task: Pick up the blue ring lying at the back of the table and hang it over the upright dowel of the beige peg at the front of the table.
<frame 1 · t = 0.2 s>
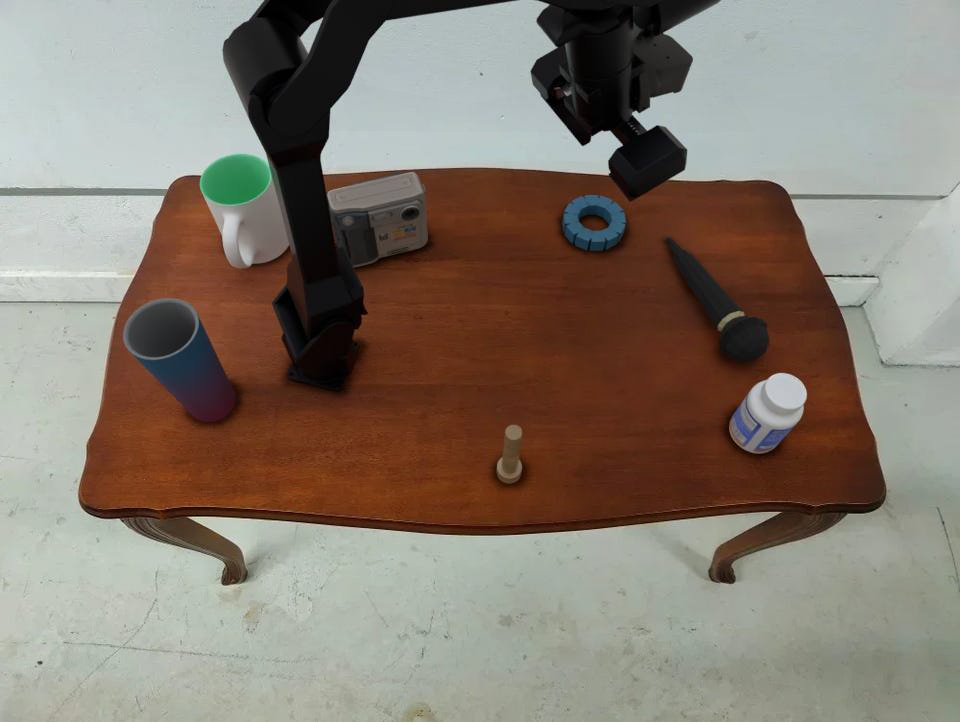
hand: (608, 170, 75), 15 cm above the table, tool pointing down, fingers open, 9 cm apart
cup: (213, 402, 78), on the table
microphone: (711, 304, 85), on the table
pill bottle: (752, 432, 77), on the table
beige peg: (508, 471, 74), on the table
mug: (257, 251, 89), on the table
camera: (384, 246, 89), on the table
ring: (592, 227, 91), on the table
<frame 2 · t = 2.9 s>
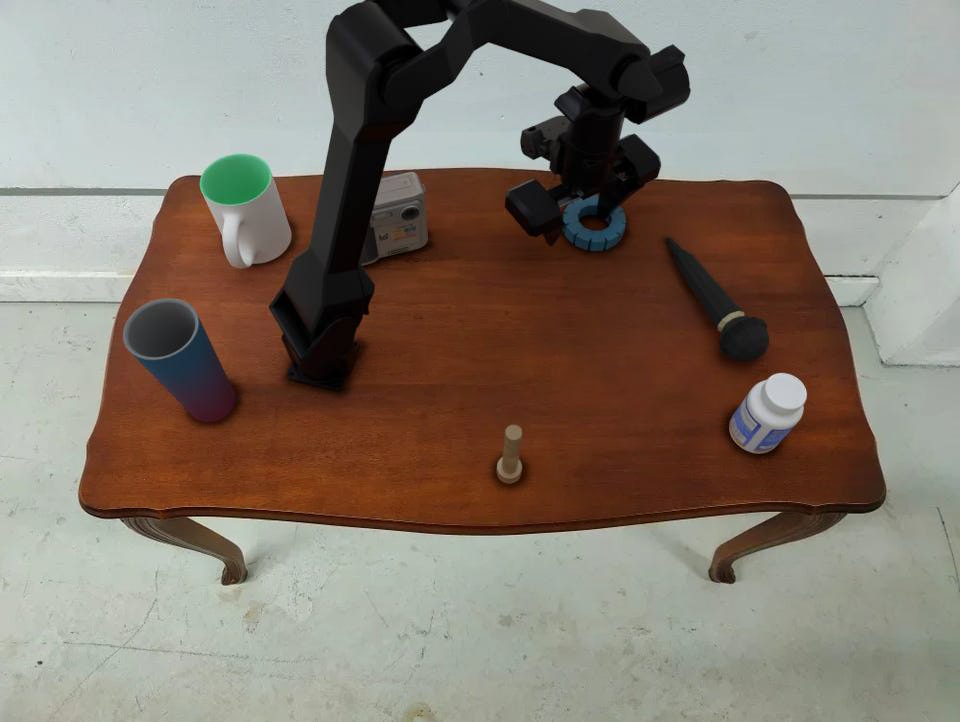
hand: (574, 231, 89), 1 cm above the table, tool pointing down, fingers open, 8 cm apart
nothing on the table moved.
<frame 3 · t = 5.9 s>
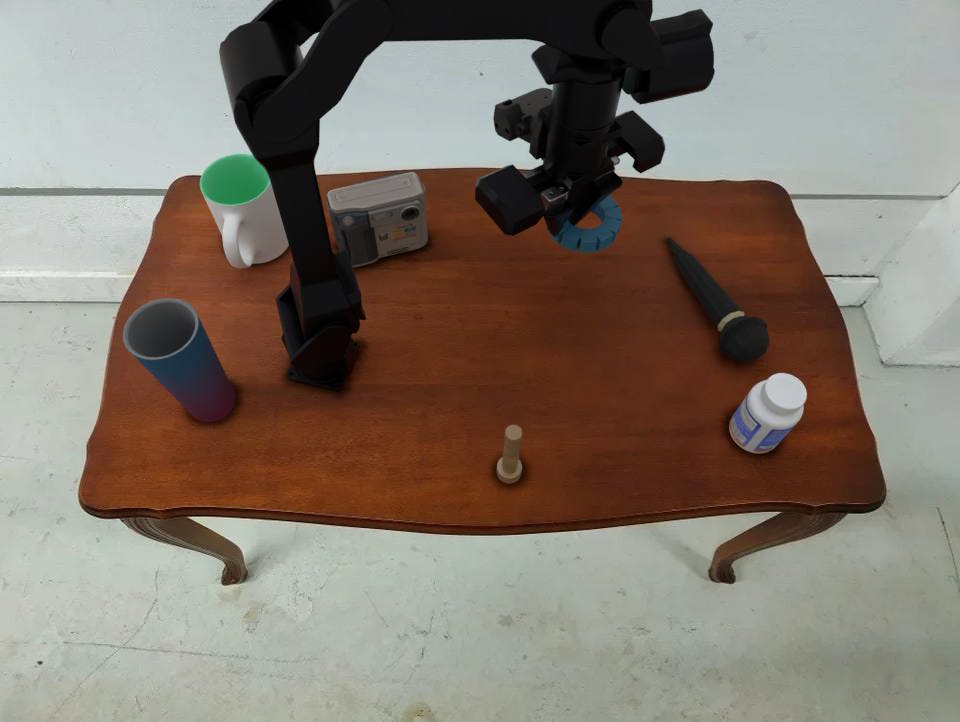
hand: (561, 229, 74), 13 cm above the table, tool pointing down, fingers closed on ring
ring: (582, 224, 76), point 12 cm above the table, touching gripper
everything else where it was.
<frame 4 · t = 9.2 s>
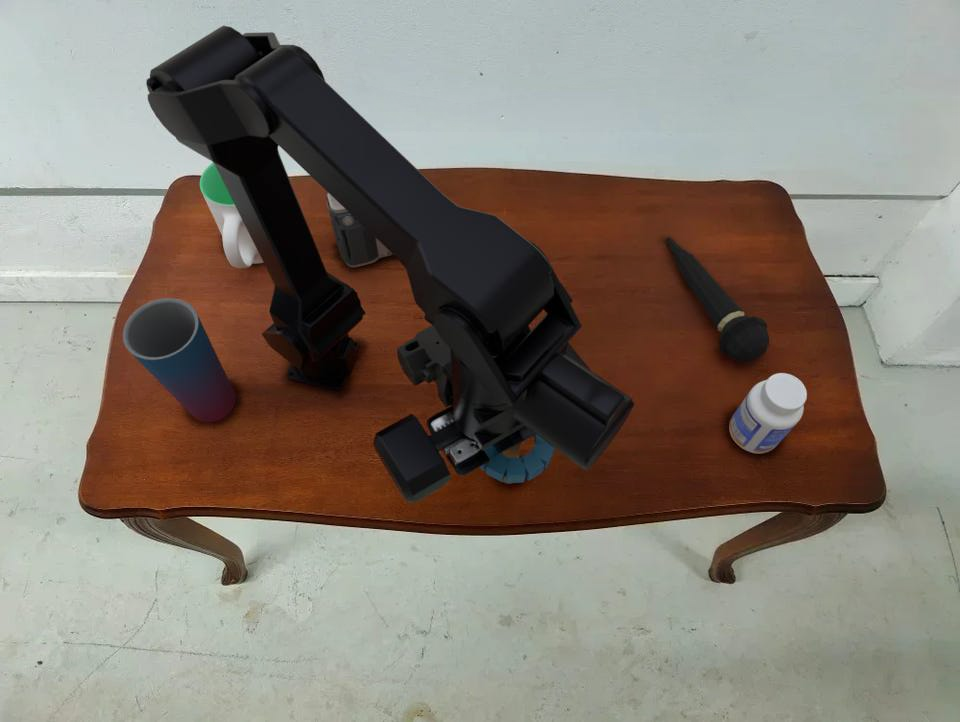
hand: (486, 454, 66), 8 cm above the table, tool pointing down, fingers closed on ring
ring: (512, 444, 68), point 7 cm above the table, touching gripper
everything else where it was.
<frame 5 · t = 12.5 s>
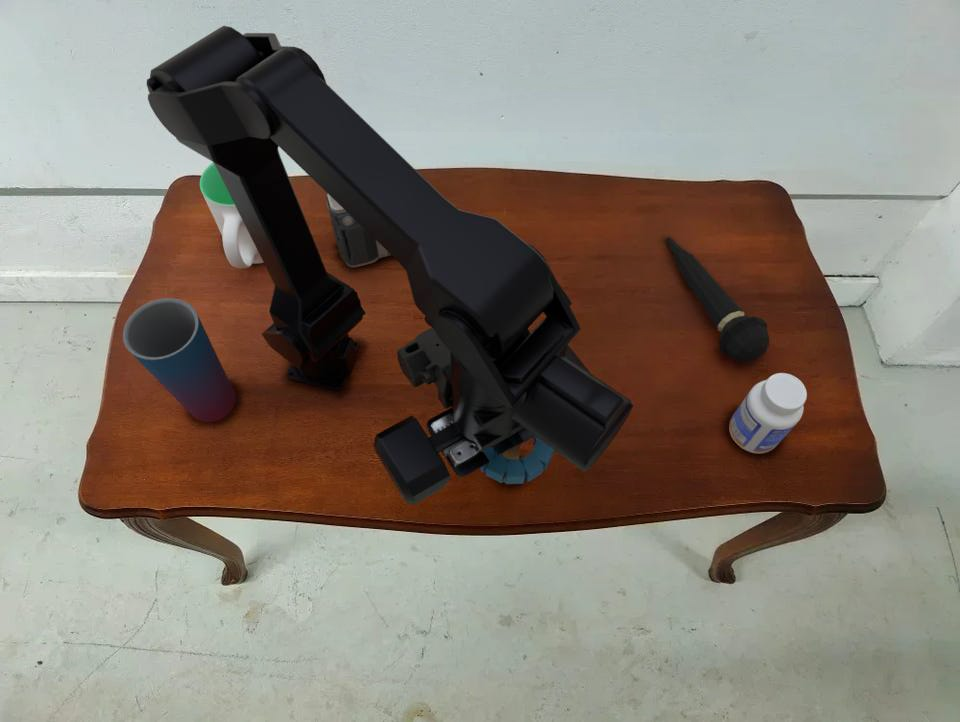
hand: (485, 455, 66), 8 cm above the table, tool pointing down, fingers closed on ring
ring: (512, 445, 68), point 7 cm above the table, touching gripper
everything else where it was.
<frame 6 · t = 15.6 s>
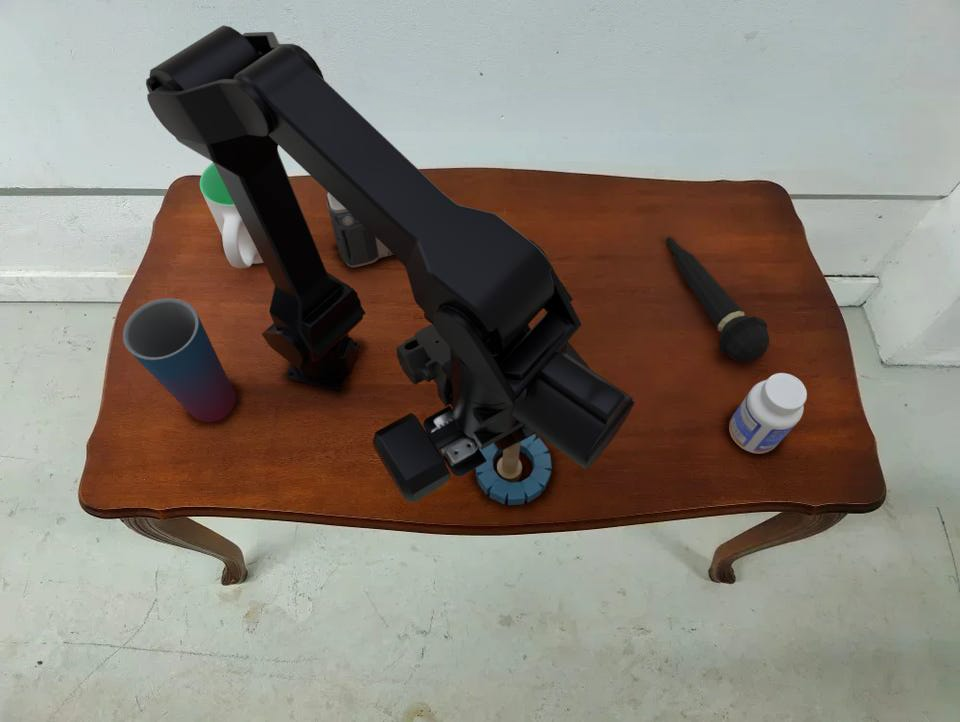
hand: (485, 453, 66), 9 cm above the table, tool pointing down, fingers closed
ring: (512, 469, 74), on the table
everything else where it was.
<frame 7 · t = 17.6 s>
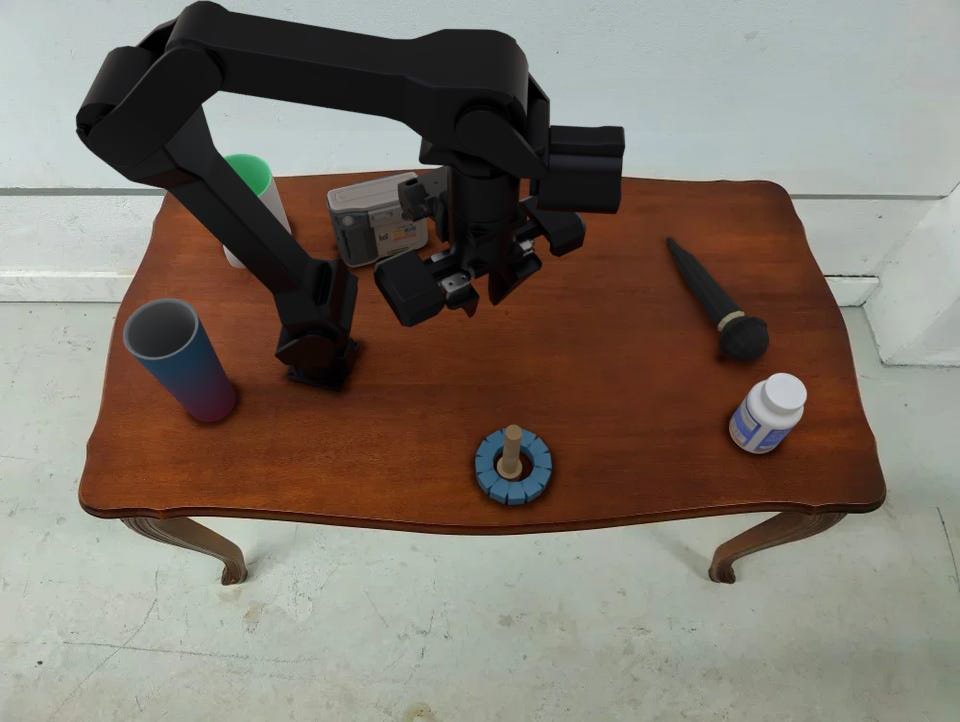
hand: (480, 308, 69), 13 cm above the table, tool pointing down, fingers closed
nothing on the table moved.
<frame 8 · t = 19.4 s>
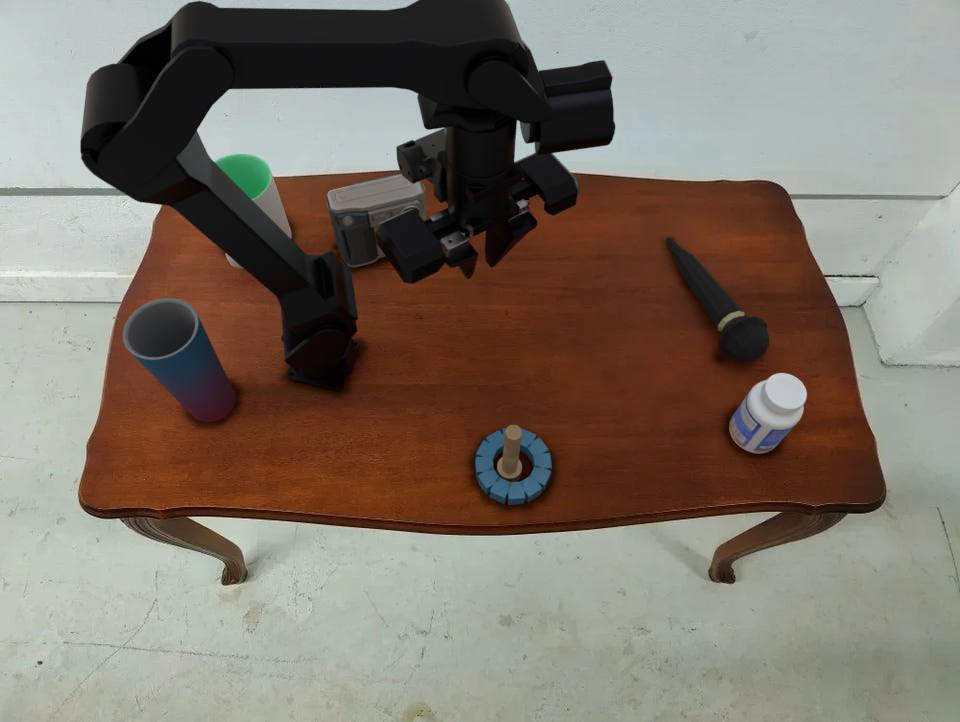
hand: (478, 269, 72), 13 cm above the table, tool pointing down, fingers closed
nothing on the table moved.
at the end: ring 0.5 cm off-centre on the beige peg, point 0.0 cm above the beige peg's base; the gripper is holding nothing; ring moved 35.0 cm from its start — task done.
